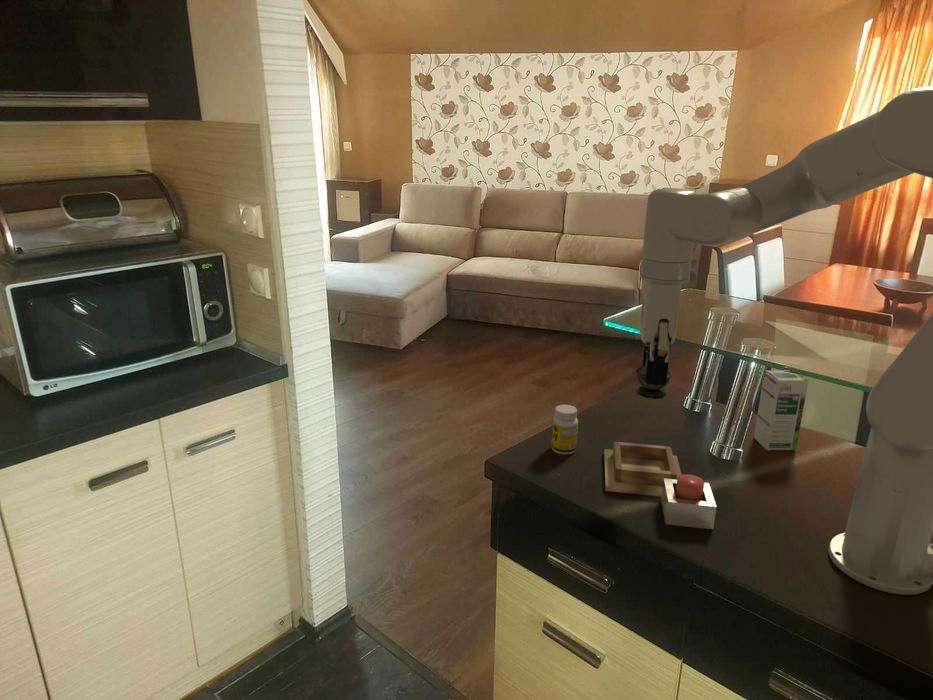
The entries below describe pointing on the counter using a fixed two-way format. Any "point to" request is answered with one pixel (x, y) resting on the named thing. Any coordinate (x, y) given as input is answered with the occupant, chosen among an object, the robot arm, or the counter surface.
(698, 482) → the button
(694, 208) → the robot arm
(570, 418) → the supplement bottle
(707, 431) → the counter surface
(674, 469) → the open wooden tray
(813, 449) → the counter surface
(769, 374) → the syrup box
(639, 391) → the dark stone statuette
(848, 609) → the counter surface
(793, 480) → the counter surface
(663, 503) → the button box
